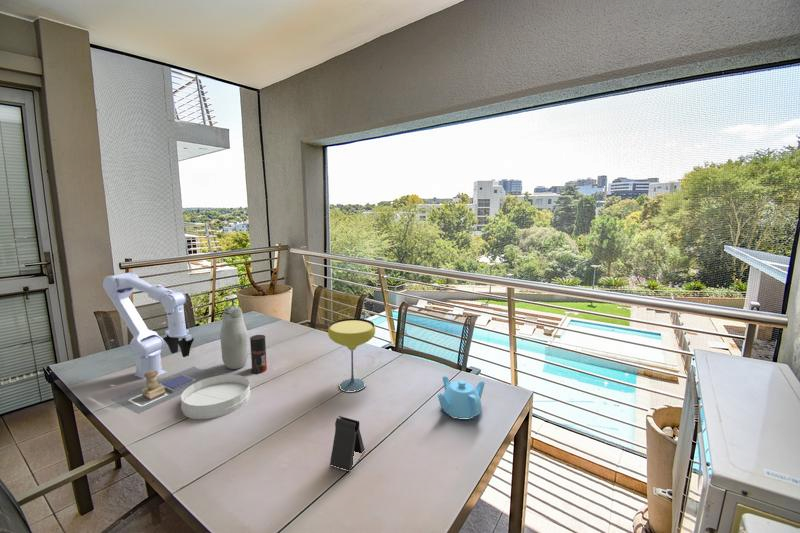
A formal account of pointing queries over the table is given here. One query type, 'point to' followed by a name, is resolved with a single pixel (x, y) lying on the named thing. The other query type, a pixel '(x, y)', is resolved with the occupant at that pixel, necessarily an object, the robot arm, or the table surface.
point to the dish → (215, 396)
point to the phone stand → (346, 442)
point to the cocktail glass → (351, 342)
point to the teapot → (461, 398)
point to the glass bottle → (234, 338)
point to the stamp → (152, 386)
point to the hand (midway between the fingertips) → (180, 354)
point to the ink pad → (178, 383)
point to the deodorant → (258, 353)
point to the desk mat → (141, 404)
